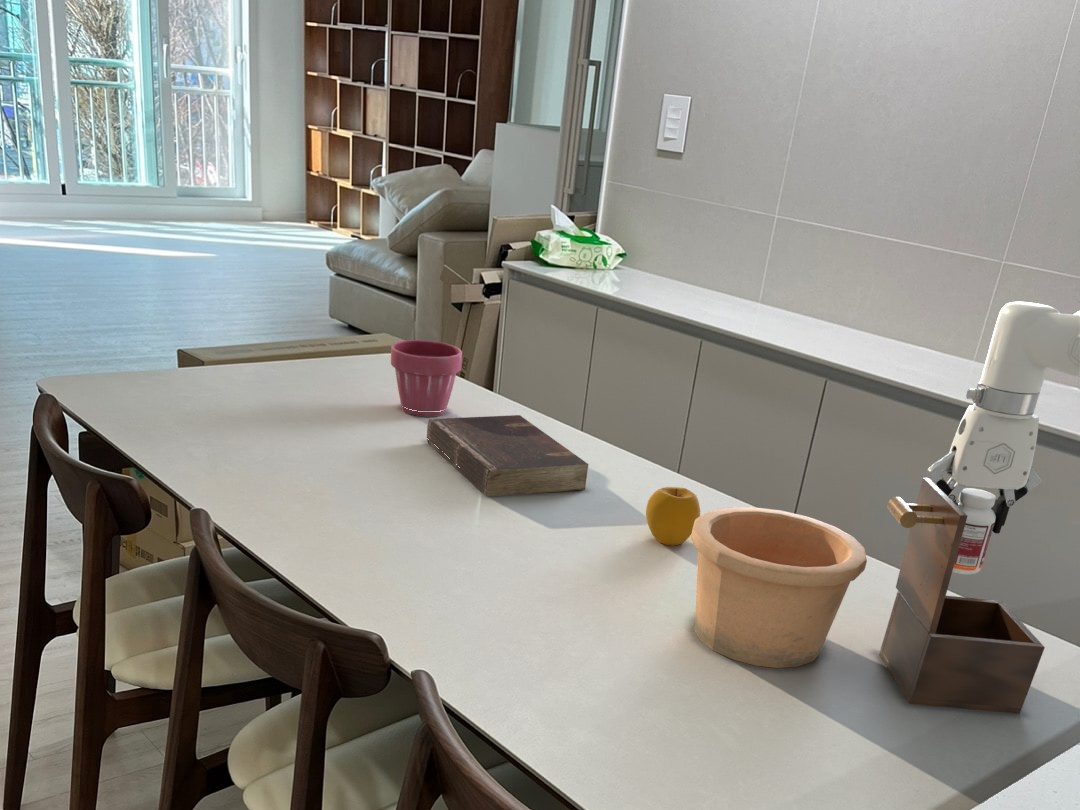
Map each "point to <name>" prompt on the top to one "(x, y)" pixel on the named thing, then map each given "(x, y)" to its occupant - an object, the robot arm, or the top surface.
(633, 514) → the top surface
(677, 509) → the apple
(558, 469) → the hardback book
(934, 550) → the lid
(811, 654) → the pottery
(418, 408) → the flower pot
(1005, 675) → the chest
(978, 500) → the pill bottle
